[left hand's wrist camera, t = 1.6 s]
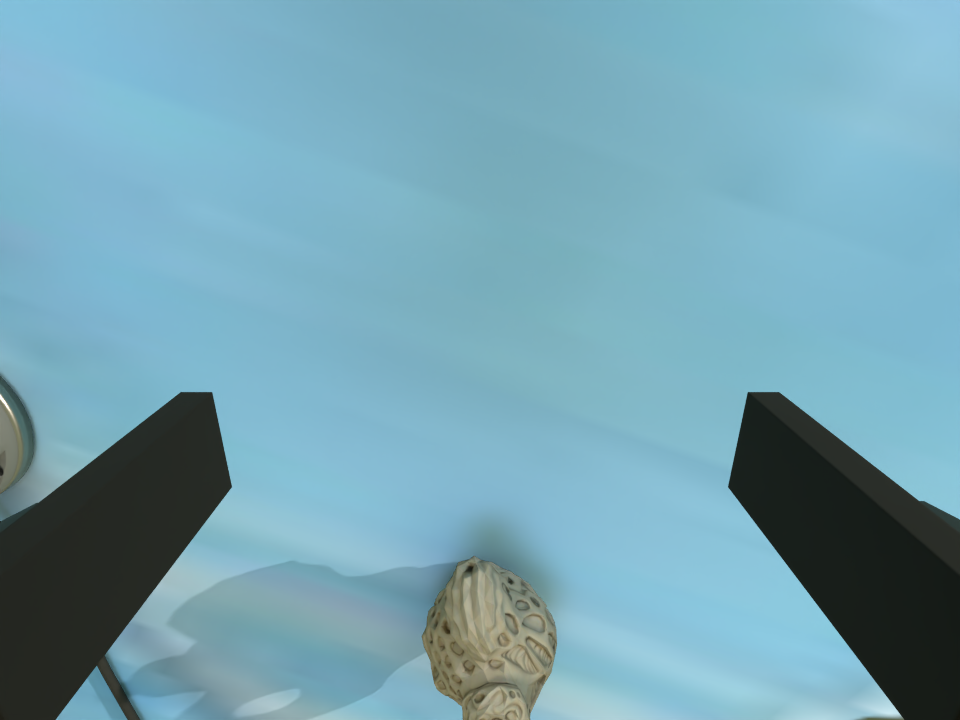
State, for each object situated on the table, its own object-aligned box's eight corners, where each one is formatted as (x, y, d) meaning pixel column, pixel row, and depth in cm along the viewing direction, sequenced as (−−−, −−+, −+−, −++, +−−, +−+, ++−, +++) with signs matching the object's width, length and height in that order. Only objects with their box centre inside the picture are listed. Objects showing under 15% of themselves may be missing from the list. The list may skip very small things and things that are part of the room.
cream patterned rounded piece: (414, 512, 46) (385, 664, 32) (541, 500, 46) (569, 648, 32) (445, 679, 54) (434, 860, 40) (555, 670, 54) (583, 850, 40)
